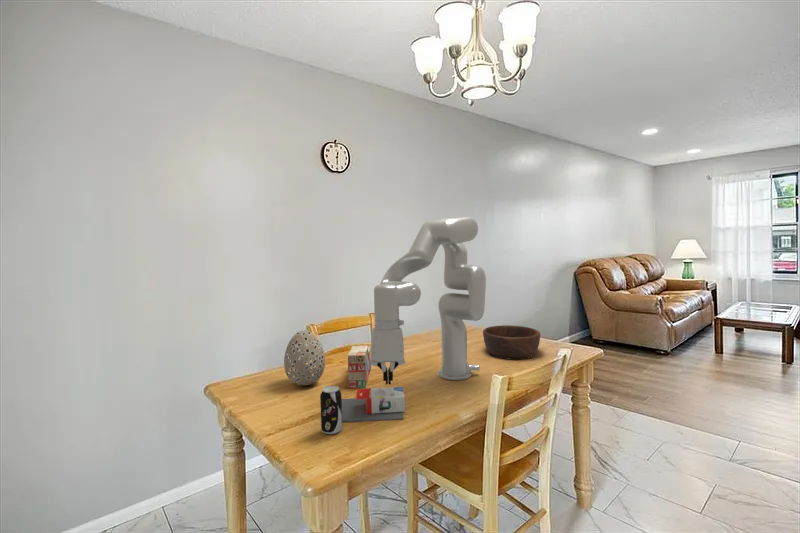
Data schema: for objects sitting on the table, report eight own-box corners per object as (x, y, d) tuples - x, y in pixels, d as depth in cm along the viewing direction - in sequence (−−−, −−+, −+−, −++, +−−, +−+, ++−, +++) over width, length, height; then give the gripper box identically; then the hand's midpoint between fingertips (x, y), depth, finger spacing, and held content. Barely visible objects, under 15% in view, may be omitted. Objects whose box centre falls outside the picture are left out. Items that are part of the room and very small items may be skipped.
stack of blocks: (356, 369, 162) (355, 339, 161) (371, 368, 162) (370, 339, 161) (348, 388, 140) (347, 354, 140) (366, 388, 140) (365, 354, 139)
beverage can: (345, 432, 108) (344, 389, 107) (326, 438, 105) (324, 394, 104) (337, 424, 113) (336, 383, 112) (318, 429, 110) (316, 387, 109)
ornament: (300, 375, 155) (298, 325, 153) (333, 379, 149) (331, 327, 148) (276, 389, 141) (274, 333, 140) (311, 394, 136) (309, 336, 134)
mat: (400, 397, 131) (400, 396, 131) (403, 419, 115) (403, 418, 115) (339, 400, 130) (339, 399, 130) (334, 422, 114) (334, 421, 114)
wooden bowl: (473, 349, 188) (473, 327, 187) (518, 344, 195) (518, 323, 195) (502, 364, 164) (502, 340, 163) (552, 358, 171) (552, 334, 171)
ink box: (402, 401, 127) (356, 403, 126) (402, 386, 127) (356, 388, 126) (405, 412, 119) (356, 415, 118) (405, 396, 118) (355, 398, 117)
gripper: (410, 321, 125) (411, 378, 126) (362, 322, 124) (364, 379, 126) (412, 326, 118) (413, 386, 119) (361, 328, 117) (363, 388, 118)
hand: (388, 383), depth 122 cm, fingers closed
